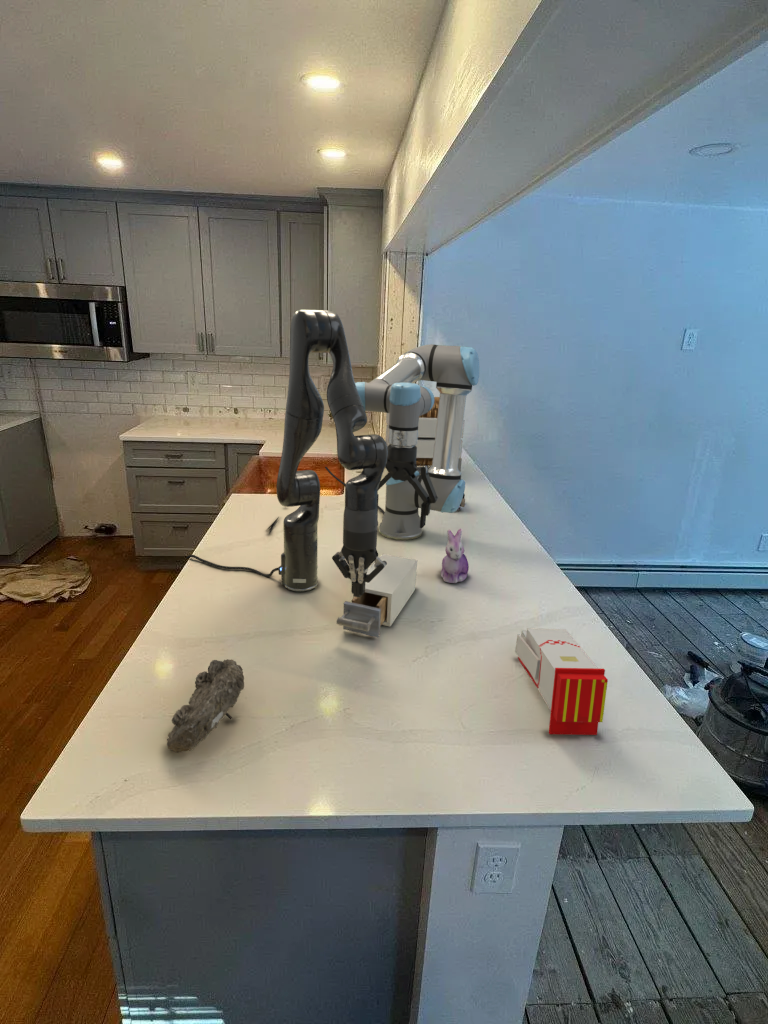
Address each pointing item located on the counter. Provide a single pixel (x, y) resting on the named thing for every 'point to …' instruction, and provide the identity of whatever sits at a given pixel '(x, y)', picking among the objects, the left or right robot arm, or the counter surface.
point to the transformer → (427, 436)
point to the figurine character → (462, 502)
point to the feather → (272, 525)
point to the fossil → (206, 705)
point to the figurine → (454, 559)
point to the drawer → (364, 614)
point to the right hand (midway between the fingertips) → (398, 522)
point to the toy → (564, 680)
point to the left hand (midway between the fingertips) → (358, 595)
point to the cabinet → (393, 583)
